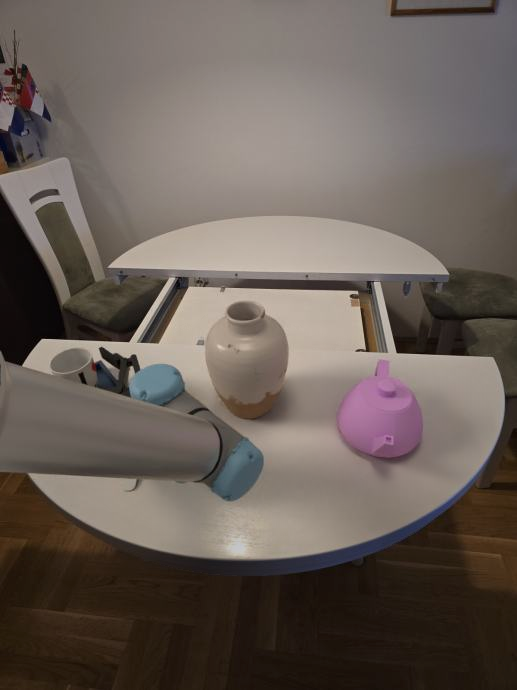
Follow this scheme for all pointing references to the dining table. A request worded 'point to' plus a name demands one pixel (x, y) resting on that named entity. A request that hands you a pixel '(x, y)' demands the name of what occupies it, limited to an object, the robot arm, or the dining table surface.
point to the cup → (75, 366)
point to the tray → (104, 376)
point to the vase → (247, 359)
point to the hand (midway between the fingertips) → (72, 368)
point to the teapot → (381, 415)
